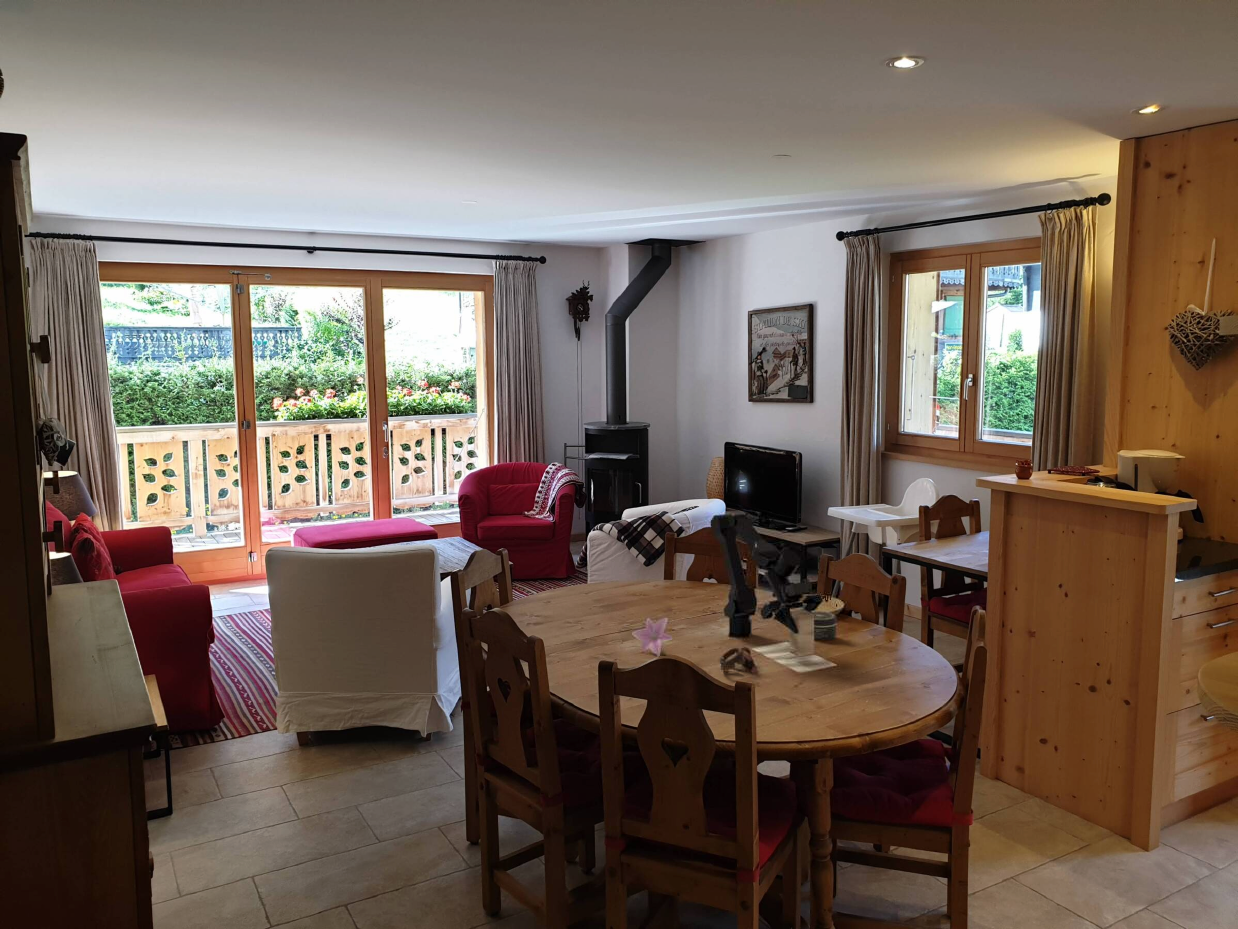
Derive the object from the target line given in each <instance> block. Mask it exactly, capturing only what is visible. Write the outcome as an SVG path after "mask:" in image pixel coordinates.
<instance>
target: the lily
mask: <svg viewBox="0 0 1238 929" xmlns="http://www.w3.org/2000/svg"><path fill="white" fill-rule="evenodd" d="M667 623H668V617H664V618H662V619H660V620H658V621H657V622H655V623H654V622H653V621H652V620H651V619H650V618H649V617H647V618H646V623H645V628H640V629H637V630H635V631H634V630H633V631H632V632H631V635H632V636H633V637H634V638H636V639H638V640H639V641H642V643H641V645H640V649H646V650H648V649H650V650H651V651H652V653H653V654H654V653H655V654H659V655H658V656H657V657H660V655H661V647H662V643H665V642H668V641H671V640H673V637H672V636H671V635H670V634H667V633H666V632H665V628H666V626H667ZM640 649H639V650H640ZM646 650H645V651H646ZM655 654H654V655H655Z"/></svg>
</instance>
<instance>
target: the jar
mask: <svg viewBox="0 0 1238 929" xmlns="http://www.w3.org/2000/svg"><path fill="white" fill-rule="evenodd" d="M811 613H814V641H830V640H832V641H835V639H836V637H837V615H834V614H832V613H829V612H823V611H813V612H811Z"/></svg>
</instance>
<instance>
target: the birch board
mask: <svg viewBox="0 0 1238 929" xmlns="http://www.w3.org/2000/svg"><path fill="white" fill-rule="evenodd" d="M750 649H751V650H753V651H755V652H757V653H758V654H760V655H762V656H765V657H767V658H769V659H771V660H773V661H775V662H777V663H778V664H781V665H782V666H785V667H787V668H789V669H791V670H793V671H794V672H796V673H799V674H801V673H803V674H804V673H808V672H811V671H816V670H817V671H818V670H821V669H826V668H830V667H836V666H837V663H836V664H835V663H834V662H832V661H830V660H827V659H825V658H823V657H820V656H818V655H816V654H814V655H810V656H805V657H798V656H796V655H794V654H792V653H790V652H789V641H784V642H779V643H774V644H768V645H762V646H757V647H752V648H750Z"/></svg>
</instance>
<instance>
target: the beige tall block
mask: <svg viewBox="0 0 1238 929" xmlns="http://www.w3.org/2000/svg"><path fill="white" fill-rule="evenodd" d="M790 615H791V617H792V619H793V621H794V623H795V625H796V627H797V630H798V633H797V634H795V633H794V632H793V631H791V630H790V629H789V628H788V629H789V630H788V633H789V634H788V643H789V652H790V653H792V654H794V655H796V656H798V657H805V656H810V655H815V640H814V613H811V612H808V611H806V610H803V609H802V610H796V611H790Z"/></svg>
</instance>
